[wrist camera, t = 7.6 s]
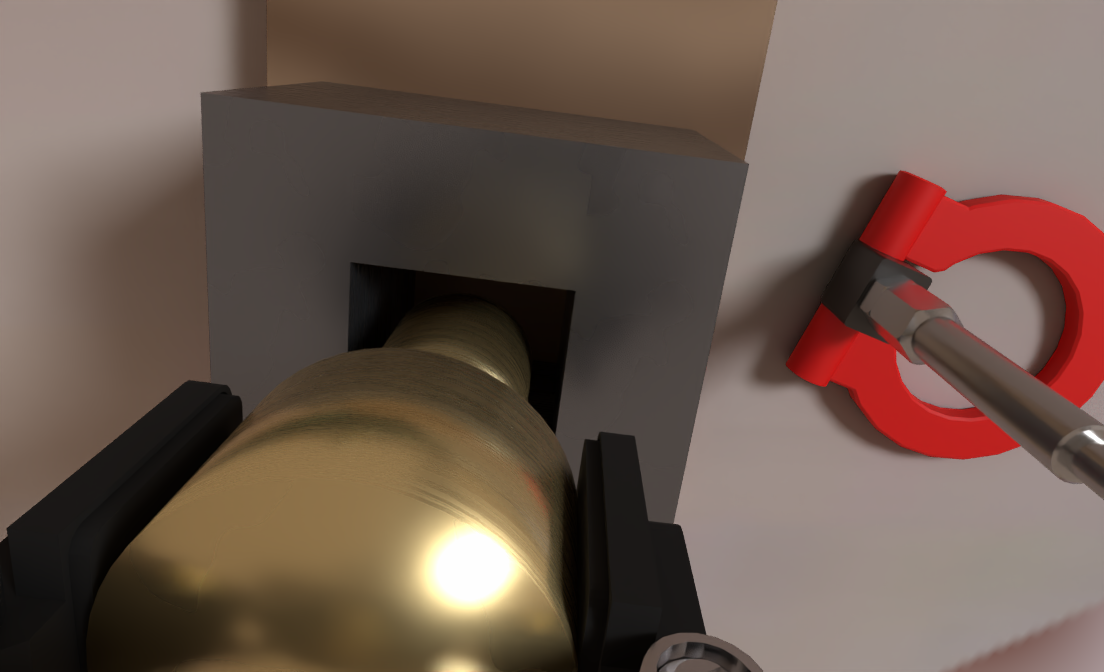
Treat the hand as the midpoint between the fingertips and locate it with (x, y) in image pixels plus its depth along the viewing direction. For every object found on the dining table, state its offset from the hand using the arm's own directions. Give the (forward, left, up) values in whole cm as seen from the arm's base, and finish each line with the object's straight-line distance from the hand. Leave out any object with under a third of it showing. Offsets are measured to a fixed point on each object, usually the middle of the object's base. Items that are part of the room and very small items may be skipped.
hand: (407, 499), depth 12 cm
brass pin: (0, 0, -6) cm, 6 cm away
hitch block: (0, 0, -11) cm, 11 cm away
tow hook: (0, +15, -13) cm, 20 cm away
